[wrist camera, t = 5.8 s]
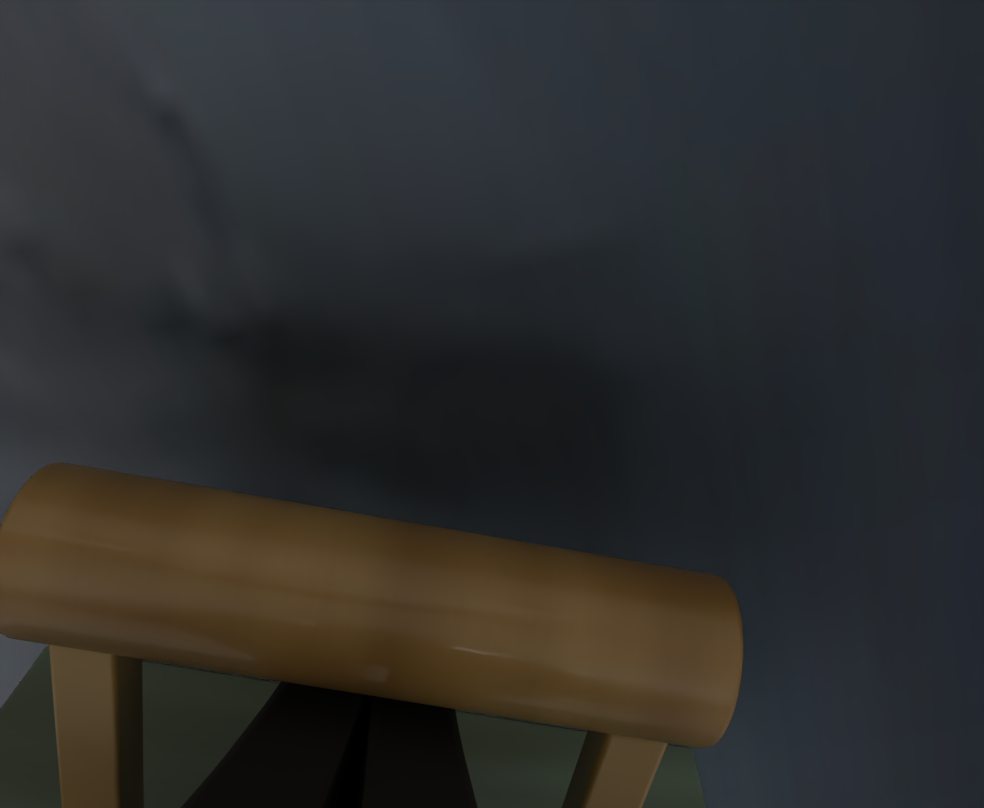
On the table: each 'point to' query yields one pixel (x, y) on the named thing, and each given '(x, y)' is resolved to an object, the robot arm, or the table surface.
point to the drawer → (342, 644)
